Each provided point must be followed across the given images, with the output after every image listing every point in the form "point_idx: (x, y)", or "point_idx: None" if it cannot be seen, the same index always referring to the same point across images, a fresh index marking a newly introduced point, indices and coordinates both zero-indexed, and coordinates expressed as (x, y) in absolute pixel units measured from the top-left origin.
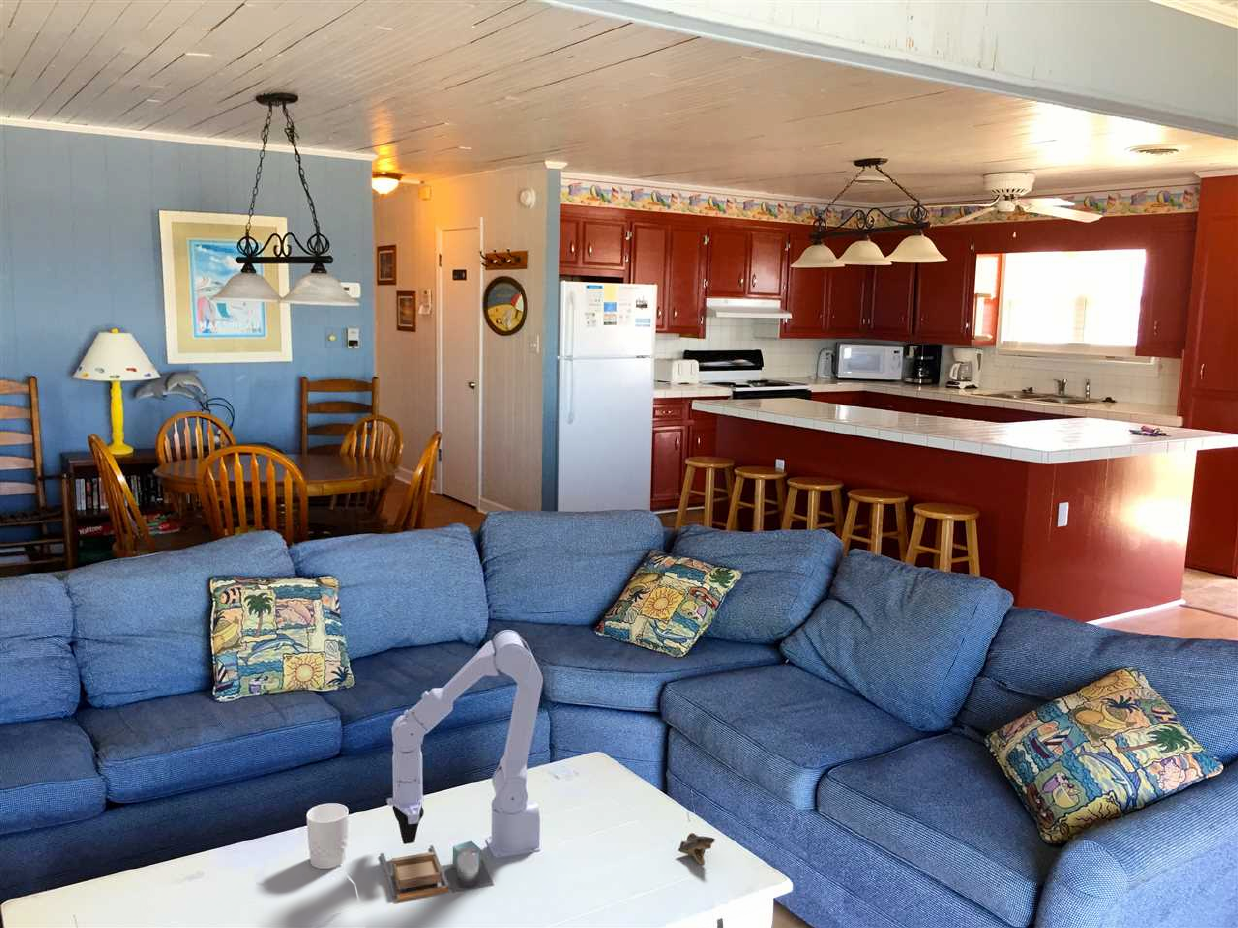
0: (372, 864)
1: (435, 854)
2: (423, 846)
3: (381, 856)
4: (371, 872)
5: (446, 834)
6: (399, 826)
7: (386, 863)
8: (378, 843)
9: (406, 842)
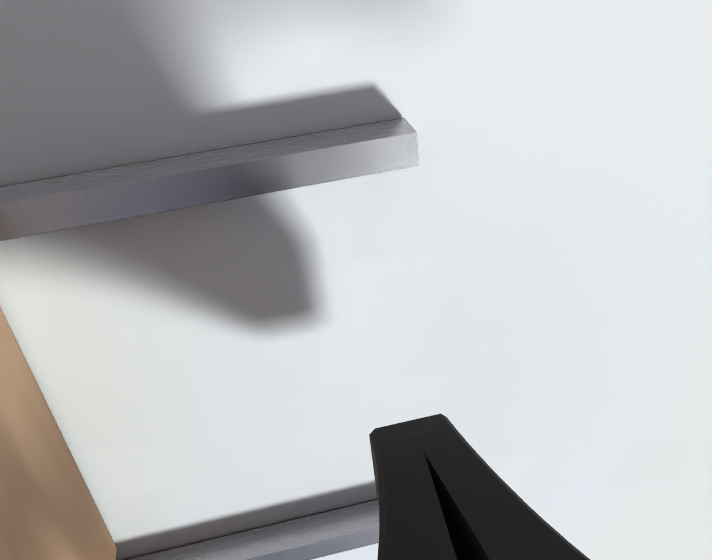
0: (260, 28)
1: (288, 558)
2: (484, 444)
3: (343, 146)
4: (61, 17)
5: (590, 545)
6: (523, 531)
7: (173, 207)
8: (687, 88)
9: (373, 458)
